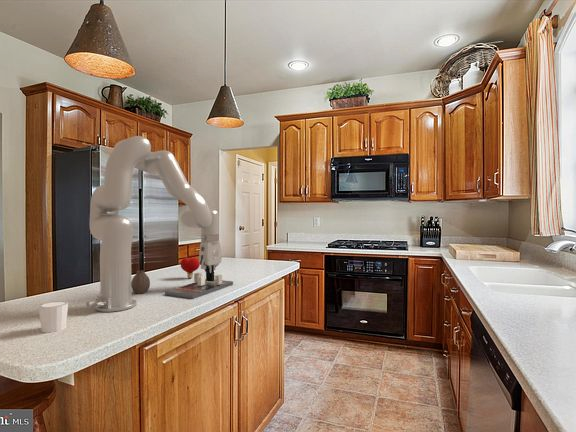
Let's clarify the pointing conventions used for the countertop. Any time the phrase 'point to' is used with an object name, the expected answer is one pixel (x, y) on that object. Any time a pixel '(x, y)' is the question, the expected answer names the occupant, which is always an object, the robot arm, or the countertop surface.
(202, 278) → the handle
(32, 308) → the countertop surface
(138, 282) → the vase
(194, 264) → the light bulb
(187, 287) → the switch panel
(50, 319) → the white cup
